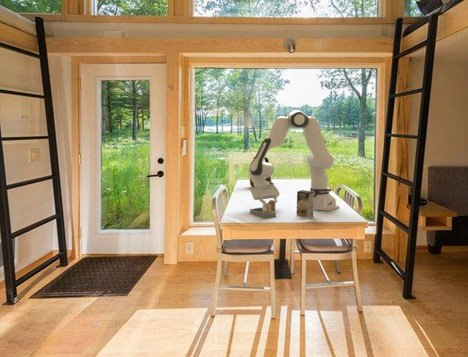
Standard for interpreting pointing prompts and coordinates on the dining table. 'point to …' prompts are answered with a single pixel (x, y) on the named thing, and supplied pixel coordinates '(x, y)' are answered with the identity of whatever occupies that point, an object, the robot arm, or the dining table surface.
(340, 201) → the dining table surface
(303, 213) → the coffee box
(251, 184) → the ceramic pitcher
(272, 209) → the brown rounded oval piece
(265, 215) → the egg carton
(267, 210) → the cream egg
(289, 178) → the dining table surface
